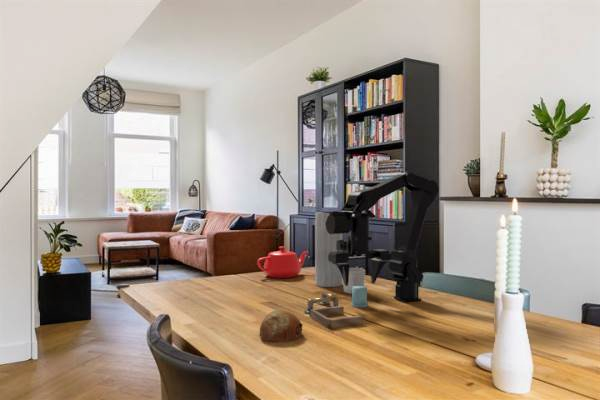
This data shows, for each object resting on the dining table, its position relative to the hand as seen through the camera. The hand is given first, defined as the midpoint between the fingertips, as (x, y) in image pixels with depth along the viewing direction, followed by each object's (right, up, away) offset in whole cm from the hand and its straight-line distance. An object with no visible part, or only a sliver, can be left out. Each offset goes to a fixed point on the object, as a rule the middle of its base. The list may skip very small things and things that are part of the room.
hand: (359, 284), depth 138 cm
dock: (-9, -7, -16) cm, 20 cm away
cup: (0, -6, +16) cm, 17 cm away
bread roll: (-23, -7, -30) cm, 38 cm away
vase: (-7, -6, +32) cm, 33 cm away
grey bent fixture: (-13, -6, -3) cm, 15 cm away
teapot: (-25, -6, +50) cm, 57 cm away
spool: (0, -6, 0) cm, 6 cm away
